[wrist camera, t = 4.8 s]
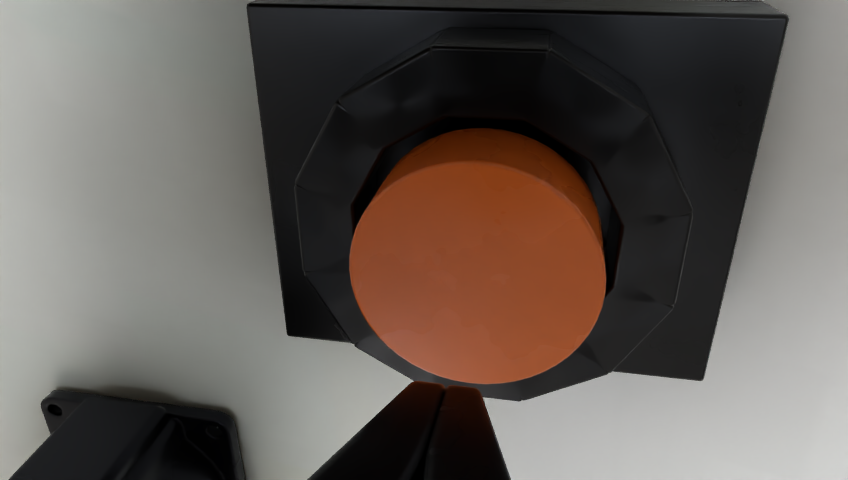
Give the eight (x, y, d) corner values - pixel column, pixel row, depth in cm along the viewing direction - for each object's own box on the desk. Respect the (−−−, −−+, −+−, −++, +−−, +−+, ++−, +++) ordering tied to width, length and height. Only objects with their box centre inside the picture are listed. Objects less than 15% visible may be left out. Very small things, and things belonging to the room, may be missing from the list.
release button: (614, 133, 11) (623, 170, 10) (587, 341, 14) (591, 398, 12) (368, 120, 12) (339, 153, 11) (377, 320, 14) (354, 371, 13)
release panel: (765, 1, 13) (828, 34, 10) (691, 339, 17) (719, 439, 14) (276, -8, 15) (199, 18, 11) (308, 301, 18) (257, 382, 15)
